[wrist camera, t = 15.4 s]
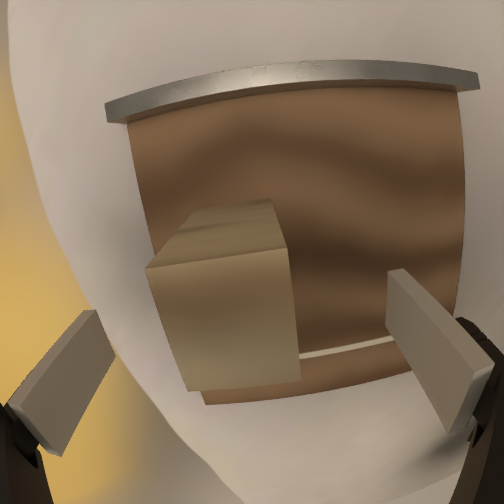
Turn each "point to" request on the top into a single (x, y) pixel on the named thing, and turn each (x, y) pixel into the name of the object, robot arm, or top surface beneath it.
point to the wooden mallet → (228, 298)
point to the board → (318, 190)
